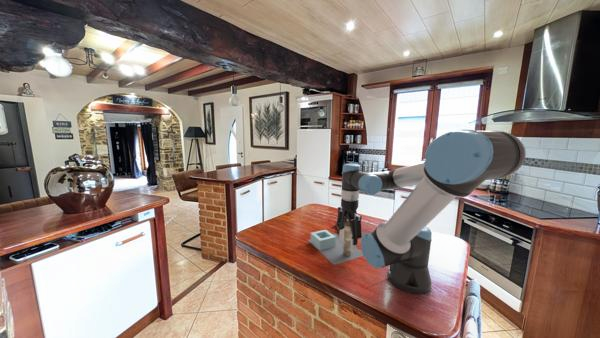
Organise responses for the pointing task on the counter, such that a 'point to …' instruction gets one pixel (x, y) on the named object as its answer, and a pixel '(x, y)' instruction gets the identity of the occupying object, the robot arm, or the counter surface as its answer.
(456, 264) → the counter surface
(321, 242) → the rectangular frame
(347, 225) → the tan wooden dowel
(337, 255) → the mat
